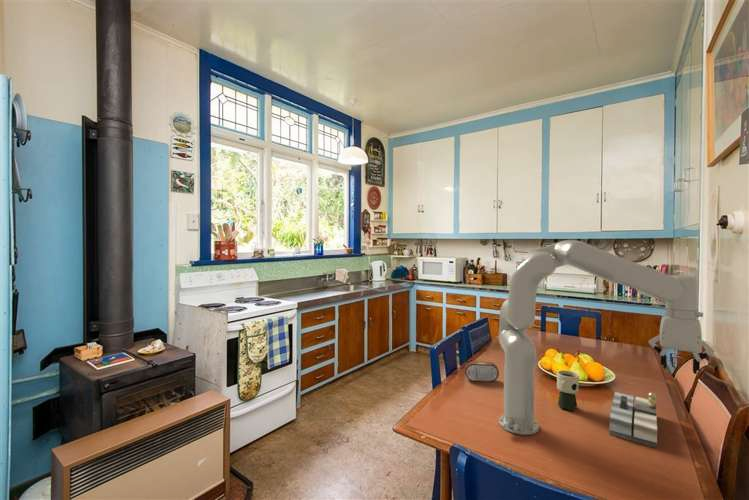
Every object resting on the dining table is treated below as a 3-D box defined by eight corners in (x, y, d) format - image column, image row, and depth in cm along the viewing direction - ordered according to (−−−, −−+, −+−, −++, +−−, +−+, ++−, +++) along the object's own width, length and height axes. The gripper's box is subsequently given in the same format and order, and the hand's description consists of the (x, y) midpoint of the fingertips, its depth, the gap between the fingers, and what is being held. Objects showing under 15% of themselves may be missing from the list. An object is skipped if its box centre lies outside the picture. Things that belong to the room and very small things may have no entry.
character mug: (572, 416, 125) (573, 380, 125) (551, 409, 131) (552, 374, 130) (582, 406, 133) (583, 372, 132) (562, 400, 138) (563, 367, 138)
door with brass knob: (656, 413, 115) (657, 394, 114) (635, 408, 118) (635, 390, 118) (656, 411, 117) (657, 392, 116) (635, 406, 120) (635, 387, 120)
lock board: (656, 447, 106) (657, 420, 106) (609, 434, 114) (609, 409, 113) (655, 416, 125) (655, 392, 125) (614, 406, 133) (615, 384, 132)
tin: (497, 380, 158) (497, 361, 158) (499, 383, 155) (499, 364, 155) (463, 379, 160) (463, 360, 159) (464, 381, 156) (464, 363, 156)
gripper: (716, 315, 109) (715, 372, 109) (646, 309, 120) (645, 361, 120) (720, 320, 103) (719, 380, 104) (646, 312, 114) (645, 367, 114)
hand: (679, 369), depth 112 cm, fingers open, 6 cm apart
